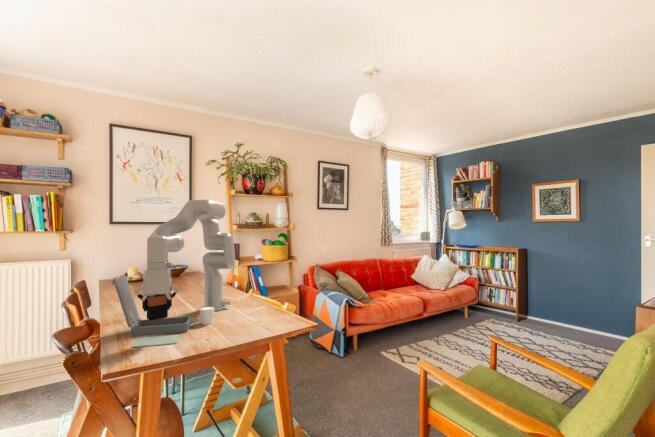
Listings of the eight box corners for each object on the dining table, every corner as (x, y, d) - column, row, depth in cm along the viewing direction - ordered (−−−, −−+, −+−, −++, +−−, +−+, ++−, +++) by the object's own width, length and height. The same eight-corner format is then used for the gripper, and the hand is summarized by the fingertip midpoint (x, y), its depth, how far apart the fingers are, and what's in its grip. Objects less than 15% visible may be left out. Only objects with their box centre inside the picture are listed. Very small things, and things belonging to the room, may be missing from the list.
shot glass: (217, 321, 155) (217, 306, 155) (208, 325, 148) (208, 310, 148) (205, 320, 157) (205, 305, 157) (196, 324, 151) (196, 309, 151)
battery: (168, 317, 130) (168, 292, 130) (149, 321, 125) (149, 295, 125) (164, 315, 133) (164, 291, 133) (146, 318, 128) (146, 293, 128)
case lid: (125, 275, 145) (123, 275, 145) (115, 279, 133) (113, 280, 133) (139, 318, 146) (137, 319, 146) (131, 327, 134) (128, 327, 134)
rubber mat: (180, 335, 136) (180, 334, 136) (176, 343, 126) (176, 342, 126) (138, 338, 132) (138, 337, 132) (130, 347, 122) (130, 346, 122)
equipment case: (191, 323, 152) (191, 300, 152) (187, 331, 140) (187, 306, 140) (136, 327, 146) (136, 303, 146) (127, 336, 134) (128, 310, 134)
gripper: (182, 264, 135) (182, 306, 135) (136, 265, 131) (136, 309, 130) (179, 266, 128) (179, 310, 128) (130, 268, 123) (129, 314, 123)
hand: (157, 309), depth 129 cm, fingers closed on battery, 7 cm apart
